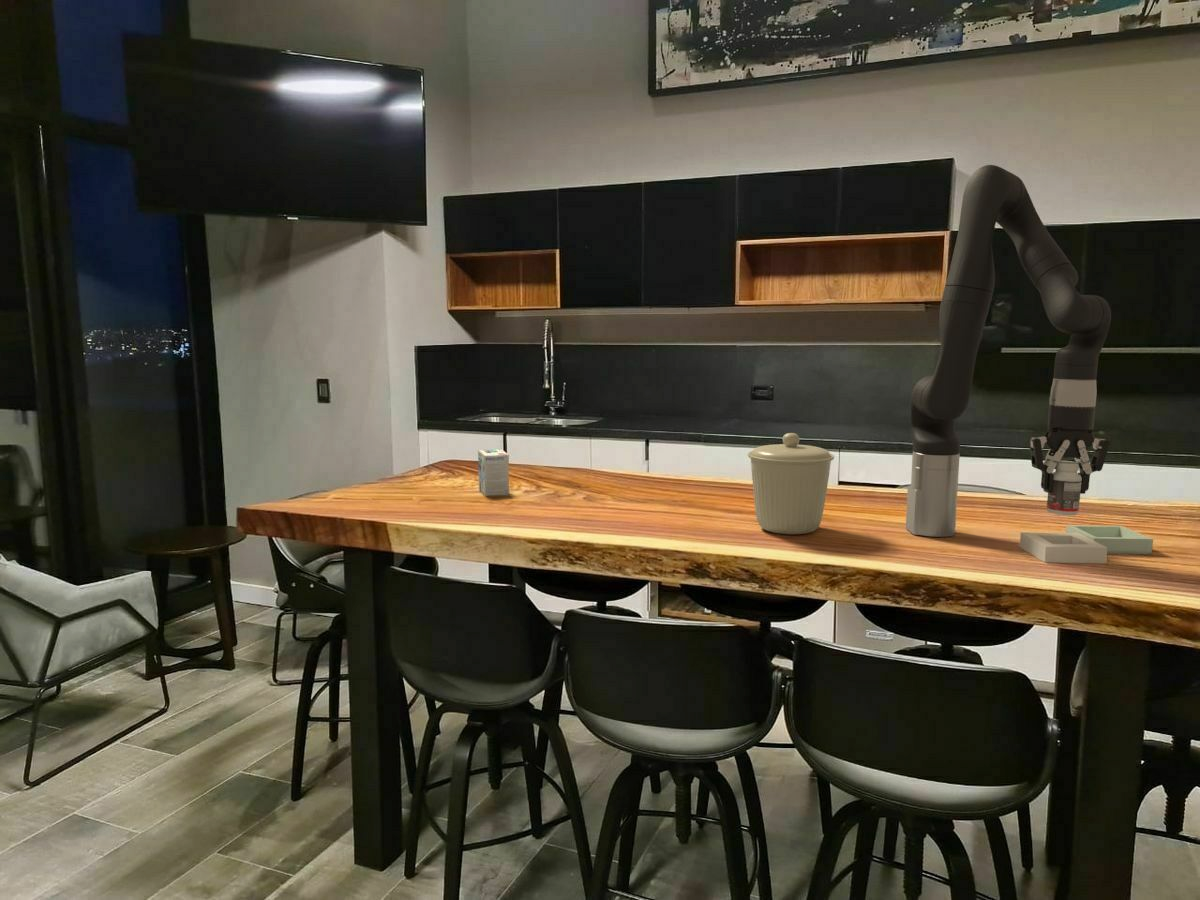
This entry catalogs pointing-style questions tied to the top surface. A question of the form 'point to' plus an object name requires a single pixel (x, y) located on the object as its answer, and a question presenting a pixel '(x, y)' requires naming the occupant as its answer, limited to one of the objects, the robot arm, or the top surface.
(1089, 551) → the socket block
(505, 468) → the light bulb box
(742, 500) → the top surface
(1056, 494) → the pill bottle
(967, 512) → the top surface
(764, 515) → the canister
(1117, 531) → the parts tray
